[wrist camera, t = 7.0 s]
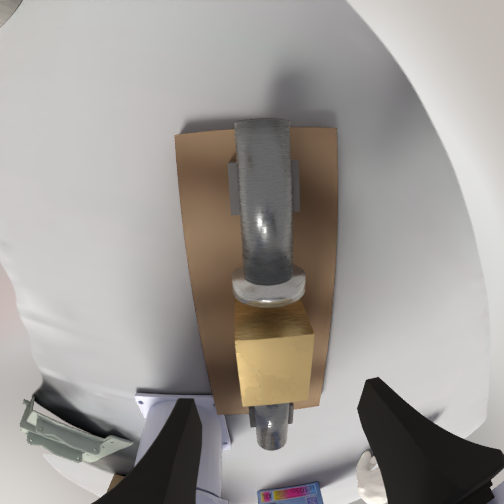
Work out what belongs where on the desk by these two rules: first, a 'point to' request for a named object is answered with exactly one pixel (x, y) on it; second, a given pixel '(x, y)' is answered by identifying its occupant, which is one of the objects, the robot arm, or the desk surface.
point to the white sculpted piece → (370, 480)
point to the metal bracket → (67, 438)
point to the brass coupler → (273, 353)
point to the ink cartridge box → (292, 495)
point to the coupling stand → (259, 244)
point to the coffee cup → (7, 9)
